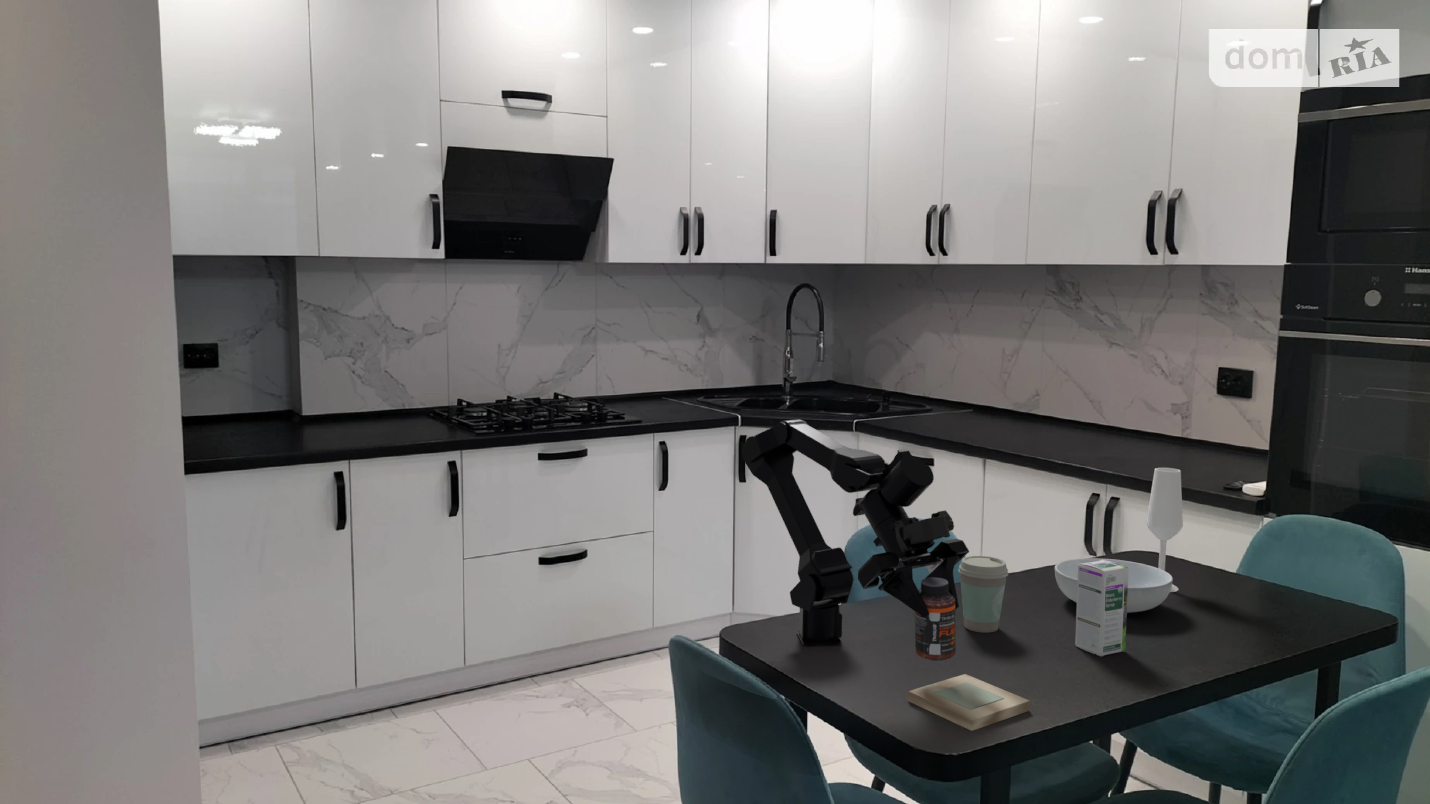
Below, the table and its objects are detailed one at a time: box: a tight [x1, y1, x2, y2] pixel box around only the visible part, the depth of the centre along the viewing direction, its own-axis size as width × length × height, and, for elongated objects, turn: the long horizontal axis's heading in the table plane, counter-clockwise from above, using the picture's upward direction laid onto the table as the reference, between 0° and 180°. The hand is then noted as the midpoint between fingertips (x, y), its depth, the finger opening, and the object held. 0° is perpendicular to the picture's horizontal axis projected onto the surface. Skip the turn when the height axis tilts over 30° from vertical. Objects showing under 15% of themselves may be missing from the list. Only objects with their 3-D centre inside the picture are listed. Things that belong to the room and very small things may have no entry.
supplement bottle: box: [914, 577, 957, 662], centre depth 152 cm, size 6×6×11 cm
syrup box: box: [1074, 560, 1129, 657], centre depth 171 cm, size 6×6×14 cm
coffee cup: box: [958, 555, 1009, 633], centre depth 181 cm, size 8×8×12 cm
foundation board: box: [907, 673, 1031, 732], centre depth 148 cm, size 12×12×2 cm
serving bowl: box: [1054, 557, 1174, 614], centre depth 194 cm, size 21×21×7 cm
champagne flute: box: [1145, 467, 1184, 593], centre depth 206 cm, size 7×7×24 cm
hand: (941, 612), depth 151 cm, fingers closed on supplement bottle, 6 cm apart
